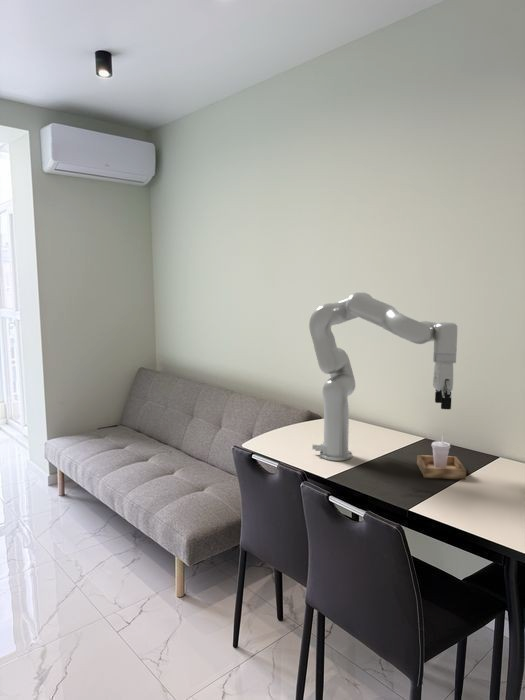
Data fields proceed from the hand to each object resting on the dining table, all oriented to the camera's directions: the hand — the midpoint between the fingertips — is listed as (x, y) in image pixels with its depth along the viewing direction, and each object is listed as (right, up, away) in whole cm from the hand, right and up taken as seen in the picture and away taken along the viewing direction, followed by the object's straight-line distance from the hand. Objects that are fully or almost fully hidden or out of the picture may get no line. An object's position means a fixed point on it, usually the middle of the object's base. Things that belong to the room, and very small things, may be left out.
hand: (442, 405), depth 179 cm
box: (0, -24, +3) cm, 24 cm away
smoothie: (0, -24, +3) cm, 24 cm away
